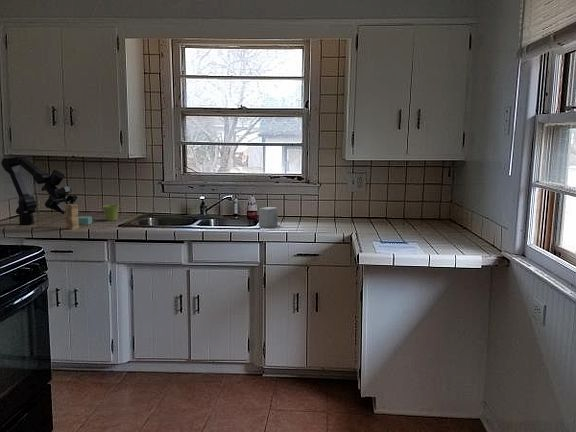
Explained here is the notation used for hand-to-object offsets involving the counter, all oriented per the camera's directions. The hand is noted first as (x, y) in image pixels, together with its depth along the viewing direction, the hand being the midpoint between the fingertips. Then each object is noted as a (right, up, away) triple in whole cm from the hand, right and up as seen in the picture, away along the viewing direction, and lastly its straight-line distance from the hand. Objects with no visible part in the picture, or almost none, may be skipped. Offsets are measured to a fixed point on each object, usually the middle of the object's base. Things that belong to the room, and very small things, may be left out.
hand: (70, 212), depth 286 cm
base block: (+1, -7, +17) cm, 18 cm away
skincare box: (+106, -8, +16) cm, 108 cm away
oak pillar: (+1, -9, +1) cm, 9 cm away
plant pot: (+12, -5, +31) cm, 33 cm away
